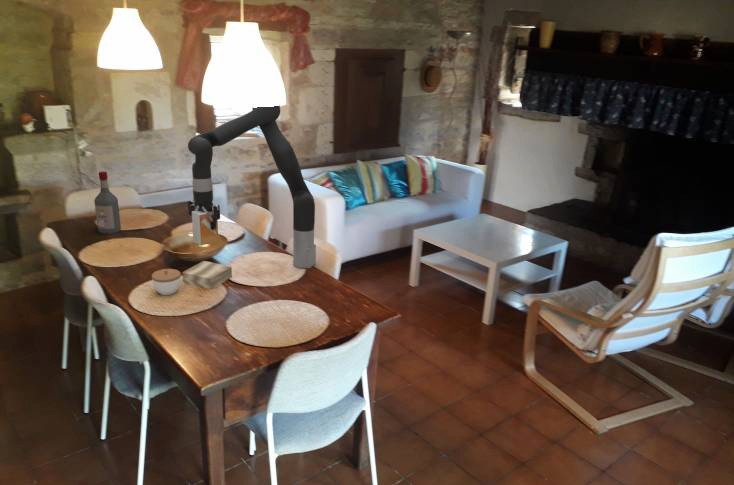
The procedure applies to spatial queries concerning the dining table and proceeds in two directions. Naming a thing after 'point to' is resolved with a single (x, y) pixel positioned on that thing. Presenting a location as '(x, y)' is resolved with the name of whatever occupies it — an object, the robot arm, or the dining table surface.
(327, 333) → the dining table surface
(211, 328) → the dining table surface
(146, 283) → the dining table surface
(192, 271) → the birch plinth
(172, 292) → the lidded jar
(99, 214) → the liquor
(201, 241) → the small box
